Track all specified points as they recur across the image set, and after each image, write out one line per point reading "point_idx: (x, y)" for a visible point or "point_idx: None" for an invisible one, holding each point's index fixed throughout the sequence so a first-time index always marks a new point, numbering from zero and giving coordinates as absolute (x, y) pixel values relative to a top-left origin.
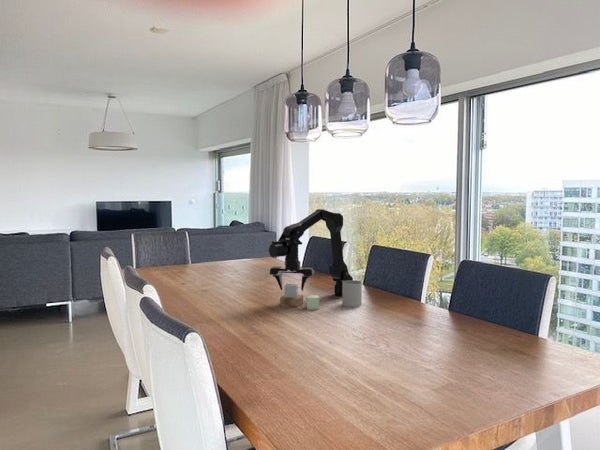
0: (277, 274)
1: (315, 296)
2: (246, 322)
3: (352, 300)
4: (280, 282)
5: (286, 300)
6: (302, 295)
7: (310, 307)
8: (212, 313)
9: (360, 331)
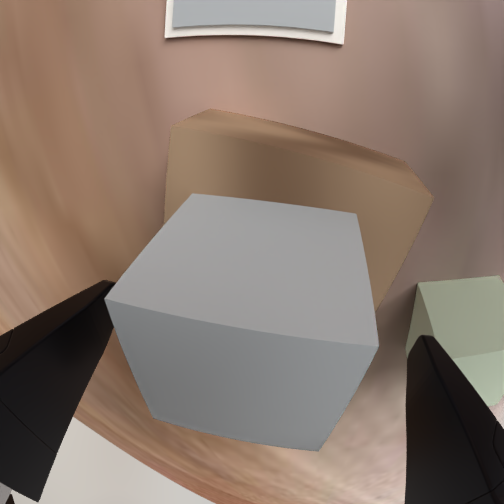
0: (1, 489)
1: (495, 381)
2: (157, 435)
3: None
4: (72, 415)
5: None
6: (419, 229)
7: None
8: None
9: None
